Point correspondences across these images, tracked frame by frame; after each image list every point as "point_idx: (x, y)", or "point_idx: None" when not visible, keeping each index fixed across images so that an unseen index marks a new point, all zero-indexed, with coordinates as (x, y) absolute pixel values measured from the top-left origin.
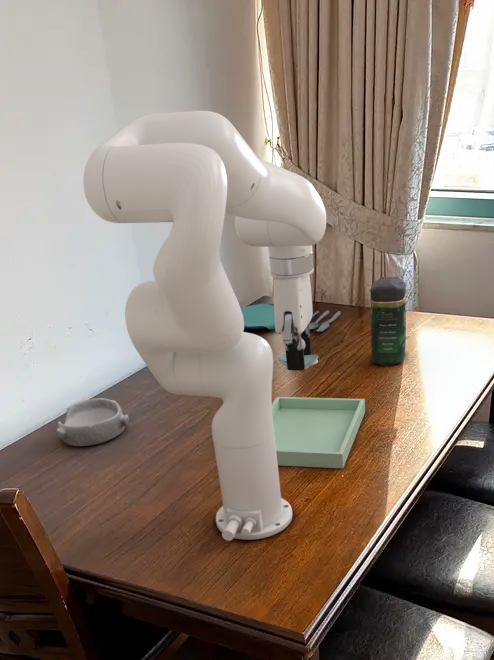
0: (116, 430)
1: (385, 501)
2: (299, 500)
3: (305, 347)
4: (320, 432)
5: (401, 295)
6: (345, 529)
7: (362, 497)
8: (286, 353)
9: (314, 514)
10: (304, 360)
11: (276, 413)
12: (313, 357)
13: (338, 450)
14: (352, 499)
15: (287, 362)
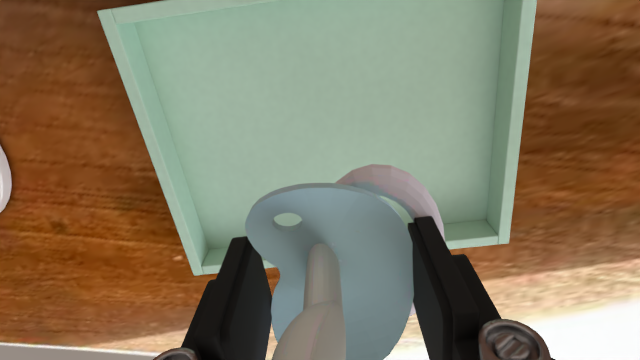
0: None
1: (129, 337)
2: (48, 212)
3: (426, 328)
4: (342, 164)
5: None
6: (16, 308)
7: (122, 306)
8: (205, 314)
9: (22, 253)
10: (361, 286)
11: None
12: (372, 336)
13: None
14: (107, 294)
15: (223, 267)
